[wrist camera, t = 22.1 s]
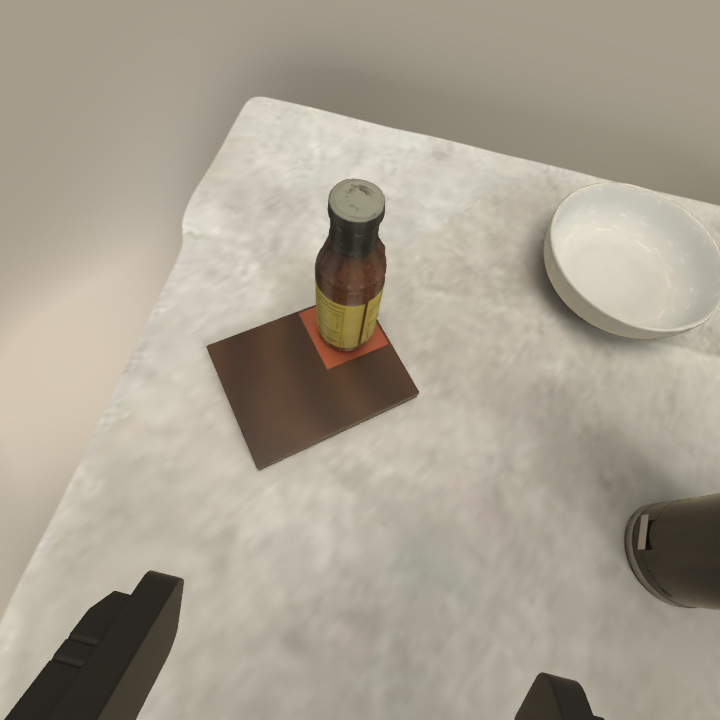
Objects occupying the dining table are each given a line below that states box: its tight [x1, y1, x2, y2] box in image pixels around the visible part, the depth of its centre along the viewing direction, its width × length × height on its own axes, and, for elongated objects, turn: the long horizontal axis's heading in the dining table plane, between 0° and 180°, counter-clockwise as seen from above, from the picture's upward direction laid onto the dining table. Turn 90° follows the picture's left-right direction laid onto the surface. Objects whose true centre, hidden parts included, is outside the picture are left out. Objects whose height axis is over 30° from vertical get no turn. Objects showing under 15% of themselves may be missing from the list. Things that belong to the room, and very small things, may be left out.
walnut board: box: [206, 305, 419, 471], centre depth 48 cm, size 18×14×2 cm
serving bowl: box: [544, 182, 720, 339], centre depth 55 cm, size 21×21×7 cm
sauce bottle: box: [315, 179, 386, 352], centre depth 41 cm, size 7×6×20 cm
